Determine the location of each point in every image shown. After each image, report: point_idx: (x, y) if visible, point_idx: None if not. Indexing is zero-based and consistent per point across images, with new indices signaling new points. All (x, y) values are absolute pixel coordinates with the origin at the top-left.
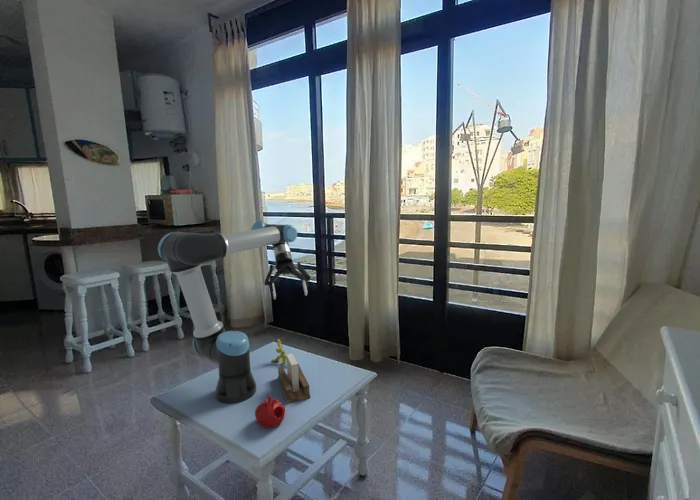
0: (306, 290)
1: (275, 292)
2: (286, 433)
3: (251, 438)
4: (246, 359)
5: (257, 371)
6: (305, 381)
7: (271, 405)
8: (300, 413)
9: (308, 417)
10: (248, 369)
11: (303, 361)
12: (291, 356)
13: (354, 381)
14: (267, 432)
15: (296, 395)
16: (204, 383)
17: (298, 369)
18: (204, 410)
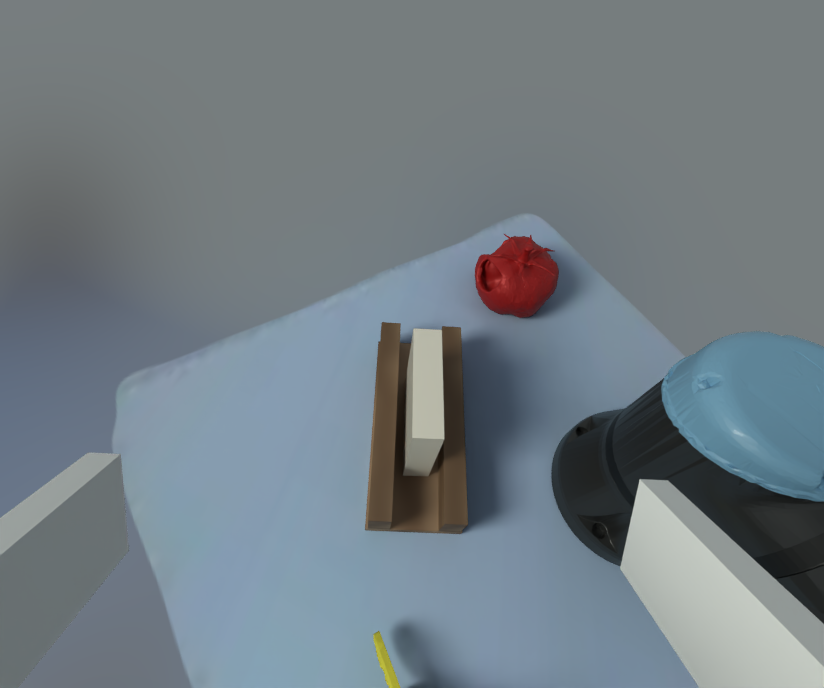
0: (76, 473)
1: (679, 520)
2: (475, 243)
3: (553, 260)
4: (647, 394)
5: (551, 660)
6: (385, 351)
7: (519, 245)
8: (427, 292)
9: (411, 270)
10: (616, 422)
11: (298, 677)
12: (424, 407)
13: (192, 373)
14: None
15: None
16: None
17: (383, 454)
18: None
